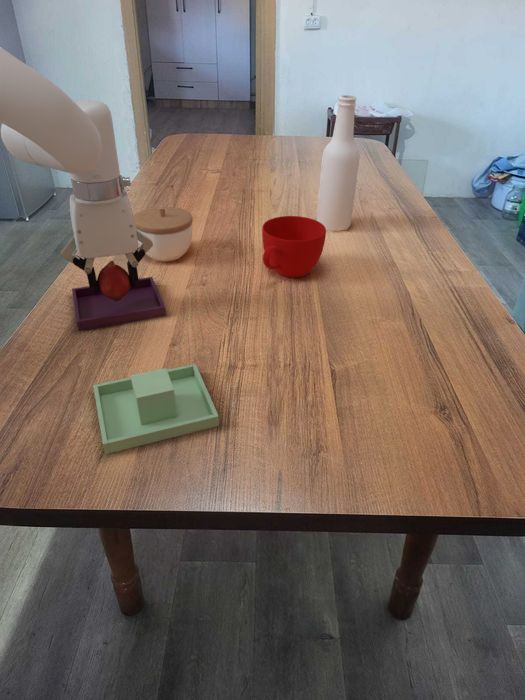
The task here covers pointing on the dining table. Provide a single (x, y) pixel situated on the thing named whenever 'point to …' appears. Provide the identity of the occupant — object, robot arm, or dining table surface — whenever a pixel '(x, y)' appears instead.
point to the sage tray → (127, 431)
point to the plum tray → (117, 305)
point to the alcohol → (339, 170)
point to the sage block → (154, 396)
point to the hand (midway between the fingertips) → (114, 286)
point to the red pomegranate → (113, 281)
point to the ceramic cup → (292, 245)
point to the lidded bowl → (165, 231)
